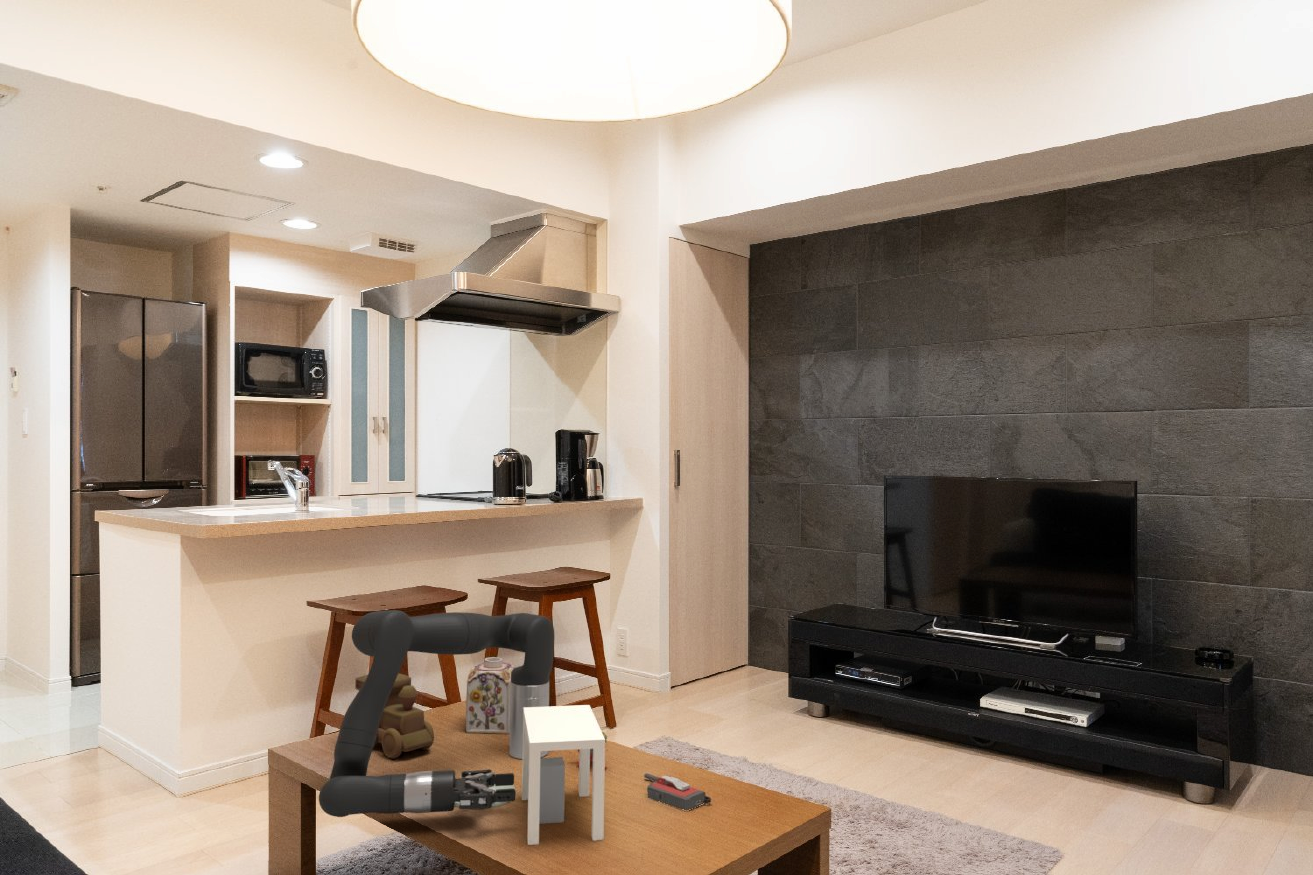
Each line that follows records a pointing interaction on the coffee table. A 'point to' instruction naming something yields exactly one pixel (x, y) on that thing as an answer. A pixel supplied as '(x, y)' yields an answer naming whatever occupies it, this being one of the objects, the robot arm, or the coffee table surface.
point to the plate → (495, 791)
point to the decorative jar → (489, 697)
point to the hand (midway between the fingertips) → (514, 786)
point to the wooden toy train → (401, 720)
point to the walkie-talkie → (675, 792)
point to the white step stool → (562, 733)
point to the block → (552, 790)
